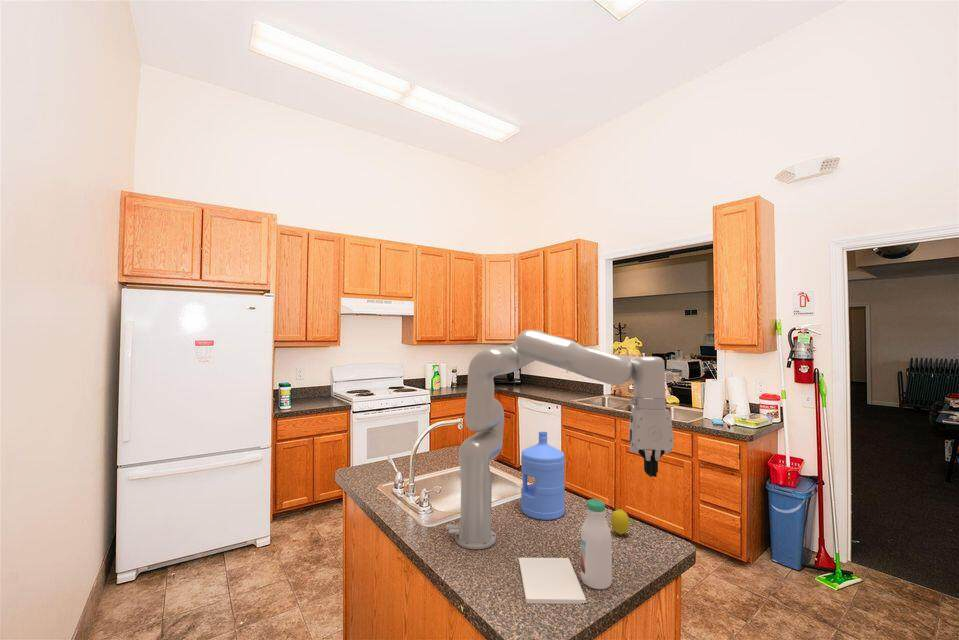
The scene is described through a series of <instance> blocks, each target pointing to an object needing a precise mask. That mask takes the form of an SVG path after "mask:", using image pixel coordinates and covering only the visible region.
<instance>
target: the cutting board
mask: <svg viewBox="0 0 959 640" xmlns="http://www.w3.org/2000/svg"><path fill="white" fill-rule="evenodd" d="M518 565H519V571H520V577H521V583H522V586H523V587H522V588H523V591H524V593H523V594H524V600H525V604H529V605H530V604H534V605H535V604H538V605H539V604H540V605H541V604H544V605H546V604H547V605H548V604H549V605H551V604H552V605H555V604H556V605H585V604H584V603H586V604H587V599H586V598H587V597H586V596H585V594H584V592H583V589H582V587H581V585H580V581H579V580H578V577H577V575H576V573H575V570H574V568H573V565H572V562H571V560H570V558H569V557H518ZM582 603H583V604H582Z"/></svg>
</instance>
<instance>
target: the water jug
mask: <svg viewBox="0 0 959 640" xmlns="http://www.w3.org/2000/svg"><path fill="white" fill-rule="evenodd" d="M520 462H521V472H522V487H521V490H520V491H521V492H520V493H521V498H520V500H521V501H520V510H521V512H522V513H523V514H524V515H526V516H527V517H529V518H533V519H536V520H540V519H541V521H552V520H556V519H558V518H561V517H562V516H564V514H565V511H566V506H565V490H566V489H565V488H566V485H565V466H566V459H565V453H564V452H563V451H562V450H560V449H558V448H556V447H554V446H552V445H550V444H549V443H548V432H547V431H538V443H536V444H534V445H532V446H531V445H530V446H529V447H527V448H524V449H522V451H521V457H520ZM528 477H532V478H534V483H532V484H530V483H529V484H528Z"/></svg>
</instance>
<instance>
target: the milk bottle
mask: <svg viewBox="0 0 959 640" xmlns="http://www.w3.org/2000/svg"><path fill="white" fill-rule="evenodd" d="M586 511H587V514H586V518H585V520H584V522H583V525H582V528H581V531H580V532H581V533H580V579H581V582H582V583H583V584H584V585H585V586H586V587H589V588H591V589H595V590H607V589H608V588H610V587H611V585H612V582H613V581H612V580H613V553H612V552H613V549H612V548H613V547H612V533H611V530H610V527H609V525H608V522H607V519H606V517H605V516H606V515H605V513H606V503H605V502H604V501H603V500H602V499H596V498H592V499H588V500H587V501H586Z"/></svg>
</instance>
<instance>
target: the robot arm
mask: <svg viewBox="0 0 959 640" xmlns="http://www.w3.org/2000/svg"><path fill="white" fill-rule="evenodd" d="M534 362H540V363H544V364H547V365H549V366H553V367H556V368H559V369H562V370H565V371H567V372H569V373H574V374H576V375H579V376H582V377H585V378H588V379H591V380H594V381H598V382H600V383H603V384H607V385H612V386H621V385H624V384H625V383H627V382H633V395H634V396H633V398H631V399H629V400H628V404H629V405H632V406H633V407H632V408H631V411H630V418H629V425H628V426H629V428H628V429H629V430H628V440H629V448H628V449H629V451H630V452H631V453H635V454H638V455H640V456H641V457H642V458H643V471H644V473H645V475H647V476H648V477H649V478H653V477H654V478H657V476H658V473H659V462H660V460H661V458H662V457H663V456H664V455H665V454H668V453H669V454H670V453H672V452H673V448H674V445H675V442H674V431H673V430H674V429H673V422H672V417H671V414H670V413H671V412H670V410H669V409H666V375H665V373H666V371H665V370H666V369H665V361H664V359H663V358H662V357H659V356H642V355H641V356H629V355H622V354H616V355H614V354H610V353H605V352H601V351H599V350H595V349H593V348H592V349H591V348H589V347H586V346H583V345H581V344H580V343H578V342H576V341H574V340H572V339H569V338H568V339H567V338H564V337H560V336H556V335H553V334H549V333H546V332H544V331H542V330H537V329H525V330H523V331H521V332H520V333H519V334H518V335H517V337H516V339H515V341H514V342H512V343H511V344H509V345H506V346H496V347H489V348H486V349H483V350H481V351H479V352H478V353H477V354H475V355H474V357H472V359H471V361H470V363H469V365H468V370H467V388H466V401H465V410H464V411H465V414H464V420H465V424H466V427H467V428H468V429H469V430H470V431H471V432H474V434H473V435H471V436H468V437H467V438H465V440H463V442H462V443H461V444H460V446H459V449H458V461H459V467H460V468H459V469H460V520H459V523H456V524H451V523H447V524H445V531H446V532H449V535H454V538H455V542H456V544H457V545H458V546H459V547H462V548H465V549H469V550H484V549H487V548H489V547H492V546H493V545H494V544H495V543H496V541H497V534H496V532H495V531H493V530H492V499H493V498H492V493H493V492H492V489H493V488H492V486H493V485H492V481H493V480H492V473H491V470H490V469H491V468H490V462H491V461H493V460H494V459H495V458H497V457H498V456H499V455H500V453H501V451H502V449H503V442H504V441H503V439H504V430H505V429H504V425H505V410H504V408H503V405H502V403H501V402H500V401H499V400H498V399H496V398H495V381H494V377H496V376H500V375H506V374H511V373H514V372H516V371H518V370H520V369H522V368H524V367H526V366H528V365H529V364H531V363H534ZM475 432H476V433H475ZM650 451H651V452H650Z"/></svg>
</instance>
